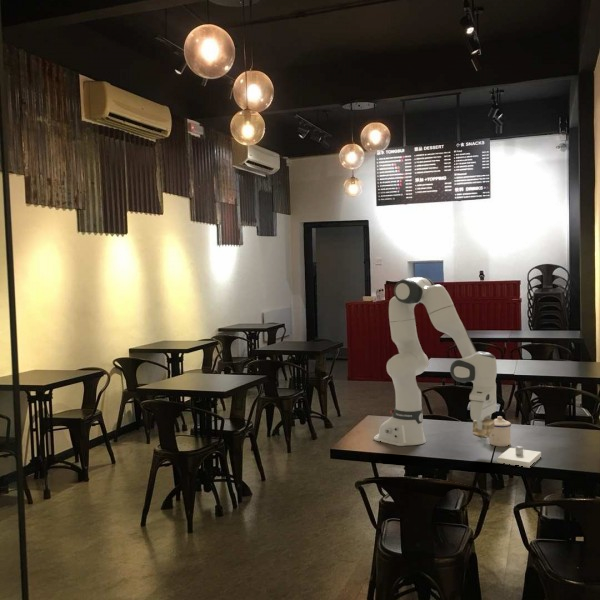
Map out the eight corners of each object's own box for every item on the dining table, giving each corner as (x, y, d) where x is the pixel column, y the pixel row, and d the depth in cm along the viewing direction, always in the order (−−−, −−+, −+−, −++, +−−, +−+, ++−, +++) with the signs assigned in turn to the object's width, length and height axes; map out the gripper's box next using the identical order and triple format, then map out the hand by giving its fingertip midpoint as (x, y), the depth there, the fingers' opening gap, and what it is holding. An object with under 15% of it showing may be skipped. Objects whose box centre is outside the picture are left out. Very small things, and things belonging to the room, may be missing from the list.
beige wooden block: (472, 431, 248) (473, 420, 248) (478, 428, 254) (478, 417, 253) (488, 434, 245) (488, 423, 244) (494, 430, 250) (494, 419, 250)
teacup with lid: (511, 441, 268) (511, 414, 267) (510, 447, 259) (510, 419, 259) (482, 439, 272) (482, 413, 272) (480, 445, 264) (480, 417, 263)
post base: (497, 462, 239) (497, 449, 239) (510, 452, 252) (510, 440, 252) (529, 467, 232) (529, 454, 232) (541, 457, 245) (541, 444, 245)
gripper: (485, 387, 258) (484, 420, 259) (467, 396, 242) (466, 431, 243) (500, 389, 255) (499, 422, 256) (483, 398, 238) (482, 433, 239)
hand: (483, 427), depth 249 cm, fingers closed on beige wooden block, 6 cm apart
